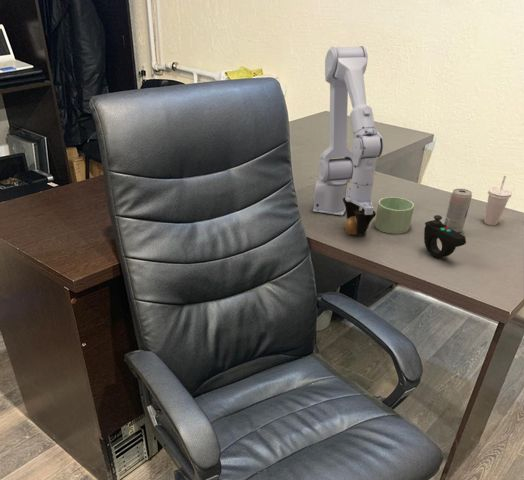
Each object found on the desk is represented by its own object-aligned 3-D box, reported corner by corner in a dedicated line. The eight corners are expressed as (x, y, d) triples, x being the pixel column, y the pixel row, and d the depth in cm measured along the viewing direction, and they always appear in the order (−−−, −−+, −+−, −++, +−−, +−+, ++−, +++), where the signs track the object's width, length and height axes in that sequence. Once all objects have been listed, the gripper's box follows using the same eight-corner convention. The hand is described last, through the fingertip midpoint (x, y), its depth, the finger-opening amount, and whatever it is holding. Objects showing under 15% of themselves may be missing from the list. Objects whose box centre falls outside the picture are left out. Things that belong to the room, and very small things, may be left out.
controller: (428, 245, 145) (436, 211, 139) (461, 265, 136) (472, 229, 130) (416, 249, 143) (424, 214, 137) (449, 268, 135) (459, 232, 128)
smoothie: (502, 220, 159) (517, 174, 150) (500, 228, 154) (516, 182, 146) (480, 216, 161) (494, 171, 152) (478, 224, 156) (491, 178, 148)
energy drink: (461, 229, 153) (472, 189, 146) (461, 237, 149) (472, 196, 142) (443, 227, 154) (453, 187, 147) (441, 234, 150) (452, 193, 143)
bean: (346, 238, 147) (349, 221, 144) (340, 230, 151) (342, 214, 148) (369, 236, 148) (372, 219, 145) (363, 228, 152) (365, 212, 149)
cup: (372, 230, 151) (376, 207, 147) (377, 217, 159) (380, 194, 155) (407, 236, 149) (412, 212, 145) (410, 222, 157) (415, 199, 152)
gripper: (339, 173, 145) (334, 219, 154) (358, 192, 134) (351, 241, 143) (363, 171, 147) (356, 217, 155) (383, 190, 136) (375, 239, 144)
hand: (355, 228), depth 149 cm, fingers open, 7 cm apart
